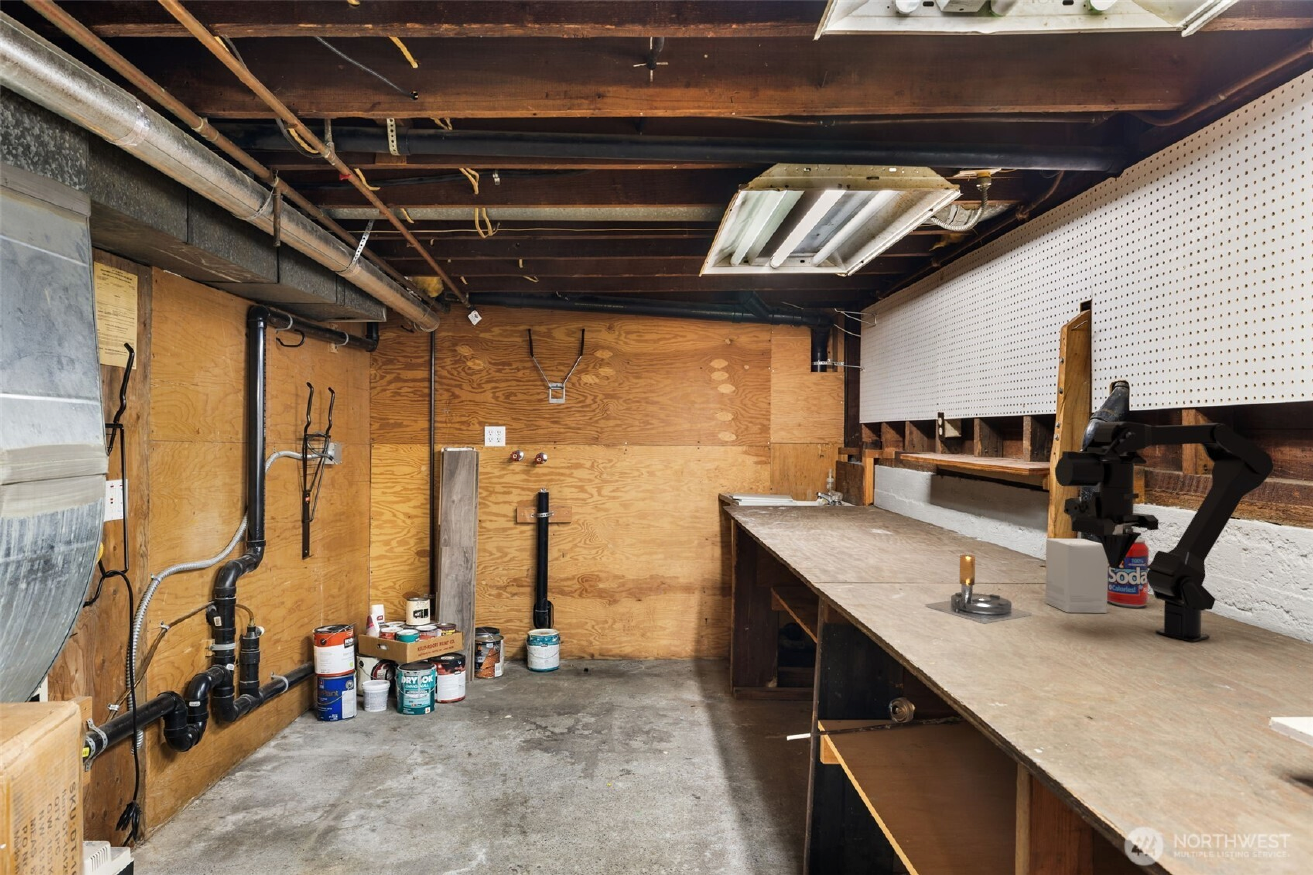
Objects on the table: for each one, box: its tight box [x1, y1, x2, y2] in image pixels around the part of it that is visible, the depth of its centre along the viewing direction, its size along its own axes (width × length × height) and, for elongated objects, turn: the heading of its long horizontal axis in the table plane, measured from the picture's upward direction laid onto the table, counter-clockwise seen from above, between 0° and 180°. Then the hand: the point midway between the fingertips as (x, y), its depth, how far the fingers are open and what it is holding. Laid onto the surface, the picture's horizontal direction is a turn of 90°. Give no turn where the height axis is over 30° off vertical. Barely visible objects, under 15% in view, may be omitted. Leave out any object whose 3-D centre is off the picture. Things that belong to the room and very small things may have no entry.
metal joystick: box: [950, 554, 1013, 614], centre depth 152 cm, size 12×12×12 cm
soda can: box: [1107, 538, 1150, 609], centre depth 159 cm, size 8×8×15 cm
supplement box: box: [1045, 537, 1108, 614], centre depth 155 cm, size 9×9×15 cm
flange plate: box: [924, 599, 1033, 624], centre depth 152 cm, size 15×15×3 cm
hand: (1114, 568), depth 134 cm, fingers closed
